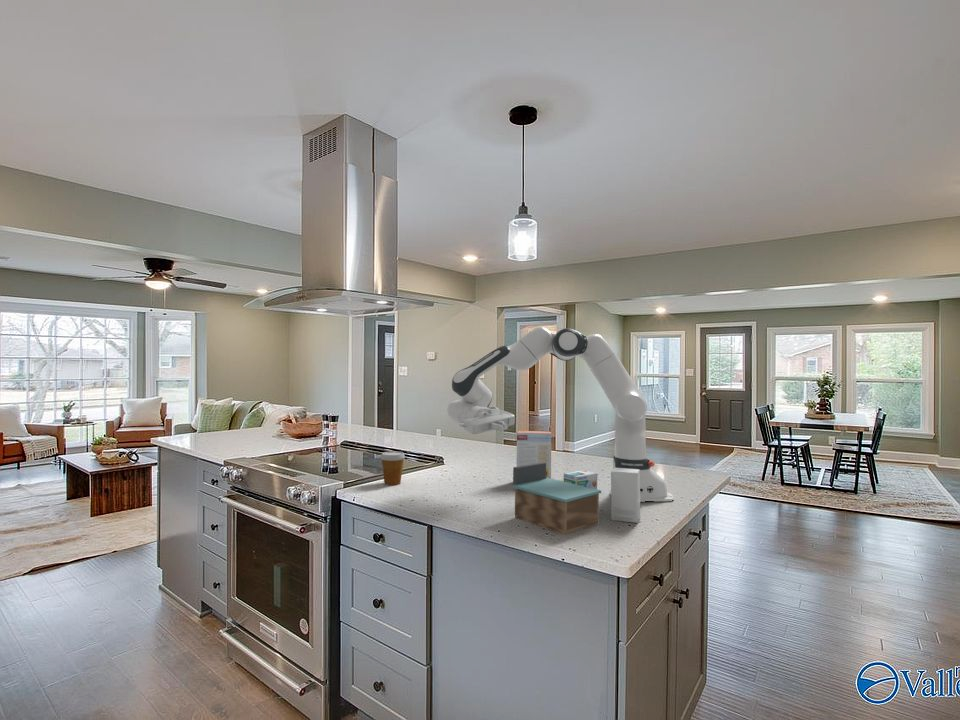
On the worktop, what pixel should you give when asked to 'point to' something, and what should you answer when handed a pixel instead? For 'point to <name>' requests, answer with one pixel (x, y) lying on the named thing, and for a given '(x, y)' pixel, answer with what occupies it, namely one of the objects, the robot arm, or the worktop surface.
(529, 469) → the lid
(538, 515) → the crate
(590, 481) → the light bulb box
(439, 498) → the worktop surface
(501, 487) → the worktop surface
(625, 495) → the skincare box
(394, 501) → the worktop surface
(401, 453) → the disposable coffee cup
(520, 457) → the cracker box
